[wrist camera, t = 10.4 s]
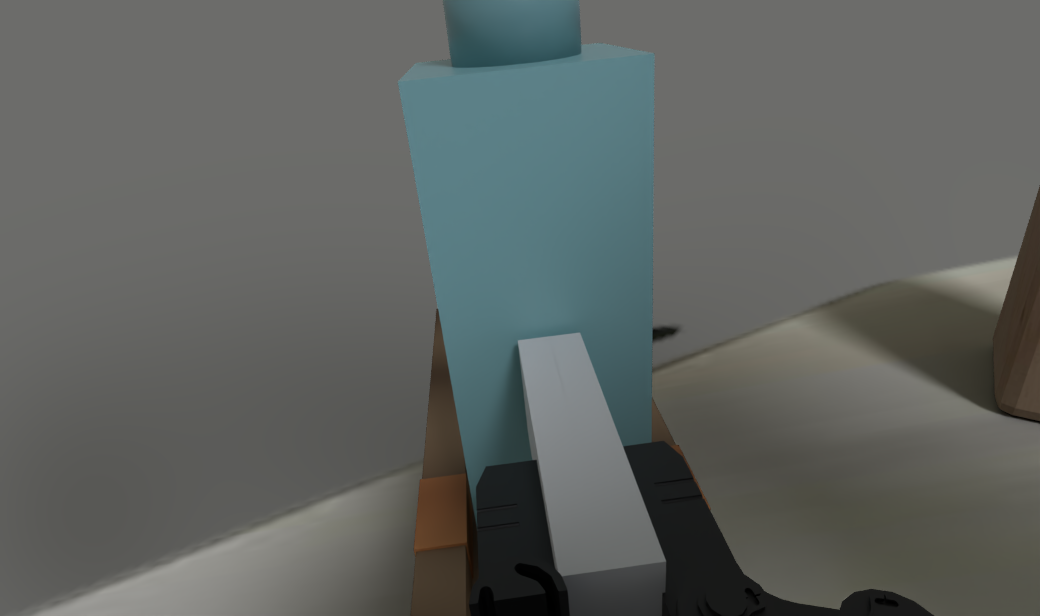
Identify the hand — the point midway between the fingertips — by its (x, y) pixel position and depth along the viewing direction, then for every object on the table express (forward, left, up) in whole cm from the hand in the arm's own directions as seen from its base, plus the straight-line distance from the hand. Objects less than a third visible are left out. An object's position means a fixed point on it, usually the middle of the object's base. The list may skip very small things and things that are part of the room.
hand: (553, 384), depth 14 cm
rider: (+3, 0, -7) cm, 8 cm away
